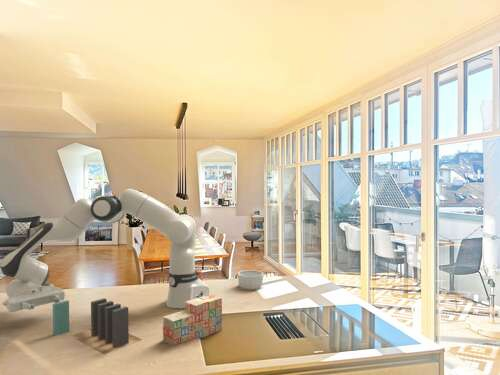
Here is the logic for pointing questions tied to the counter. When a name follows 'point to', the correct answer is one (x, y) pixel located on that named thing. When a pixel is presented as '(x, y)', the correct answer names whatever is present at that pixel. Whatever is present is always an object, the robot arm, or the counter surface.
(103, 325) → the domino
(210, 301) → the stack of blocks
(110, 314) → the domino
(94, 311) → the domino
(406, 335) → the counter surface
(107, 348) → the oak board
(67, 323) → the domino
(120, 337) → the domino
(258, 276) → the ramekin
